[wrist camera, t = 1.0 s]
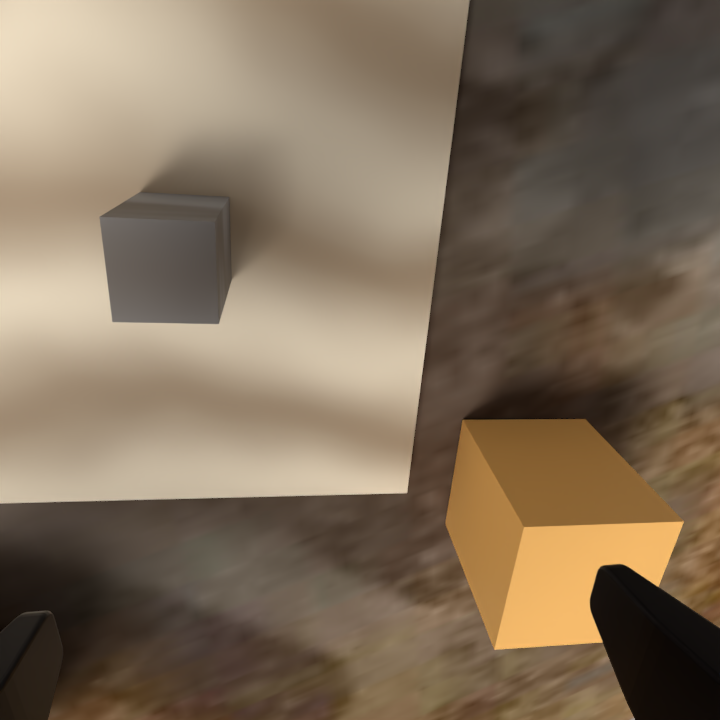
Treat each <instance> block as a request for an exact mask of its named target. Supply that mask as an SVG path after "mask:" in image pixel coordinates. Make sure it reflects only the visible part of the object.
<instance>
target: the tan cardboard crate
mask: <svg viewBox="0 0 720 720" xmlns="http://www.w3.org/2000/svg"><path fill="white" fill-rule="evenodd" d="M683 523H684V521H683V520H682V519H681V518H680V517H679V516H678V515H677V514H676V513H675V512H674V511H673V510H672V509H671V508H670V507H669V505H668V504H667V503H666V502H665V501H664V500H663V499H662V498H661V497H660V496H659V495H658V494H657V493H656V492H655V491H654V490H653V489H652V488H651V487H650V486H649V485H648V484H647V483H646V482H645V481H644V479H643V478H642V477H641V476H640V475H639V474H638V473H637V472H636V471H635V470H634V469H633V468H632V467H631V466H630V465H629V464H628V463H627V462H626V461H625V460H624V459H623V458H622V457H621V456H620V455H619V454H618V452H617V451H616V450H615V449H614V448H613V447H612V446H611V445H610V444H609V443H608V442H607V441H606V440H605V439H604V438H603V437H602V436H601V435H600V434H599V433H598V432H597V431H596V430H595V429H594V428H593V427H592V425H591V424H590V423H589V422H588V421H587V420H586V419H498V420H463V421H462V427H461V432H460V438H459V444H458V450H457V456H456V462H455V468H454V474H453V480H452V486H451V492H450V498H449V504H448V510H447V516H446V522H445V524H446V526H447V529H448V532H449V534H450V537H451V539H452V542H453V544H454V547H455V550H456V552H457V555H458V557H459V560H460V562H461V565H462V568H463V570H464V573H465V575H466V578H467V581H468V583H469V586H470V588H471V591H472V593H473V596H474V599H475V601H476V604H477V606H478V609H479V611H480V614H481V617H482V619H483V622H484V624H485V627H486V629H487V632H488V635H489V637H490V640H491V642H492V645H493V647H494V650H497V649H511V648H526V647H541V646H555V645H570V644H584V643H599V642H602V639H601V636H600V634H599V631H598V629H597V626H596V624H595V621H594V619H593V616H592V613H591V610H590V596H591V592H592V589H593V585H594V581H595V578H596V574H597V571H598V569H599V568H600V567H601V566H603V565H613V564H623V565H626V566H628V567H629V568H631V569H632V570H634V571H635V572H637V573H638V574H640V575H641V576H643V577H644V578H646V579H647V580H649V581H650V582H652V583H653V584H655V585H656V586H659V584H660V581H661V579H662V576H663V574H664V571H665V569H666V566H667V563H668V561H669V558H670V556H671V553H672V551H673V548H674V546H675V543H676V540H677V538H678V535H679V533H680V530H681V528H682V525H683Z"/></svg>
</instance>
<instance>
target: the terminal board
mask: <svg viewBox="0 0 720 720" xmlns="http://www.w3.org/2000/svg"><path fill="white" fill-rule="evenodd" d="M469 1H470V0H0V503H36V502H75V501H114V500H153V499H193V498H232V497H271V496H311V495H350V494H389V493H407V489H408V481H409V473H410V466H411V458H412V450H413V442H414V434H415V426H416V418H417V410H418V403H419V395H420V387H421V379H422V371H423V363H424V355H425V348H426V340H427V332H428V324H429V316H430V308H431V300H432V292H433V285H434V277H435V269H436V261H437V253H438V245H439V237H440V230H441V222H442V214H443V206H444V198H445V190H446V182H447V174H448V167H449V159H450V151H451V143H452V135H453V127H454V119H455V112H456V104H457V96H458V88H459V80H460V72H461V64H462V56H463V49H464V41H465V33H466V25H467V17H468V9H469Z"/></svg>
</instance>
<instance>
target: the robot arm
mask: <svg viewBox="0 0 720 720" xmlns="http://www.w3.org/2000/svg"><path fill="white" fill-rule="evenodd" d="M590 610H591V613H592V616H593V619H594V621H595V624H596V626H597V629H598V631H599V634H600V636H601V639H602V642H603V644H604V647H605V649H606V652H607V654H608V657H609V659H610V662H611V664H612V667H613V669H614V672H615V674H616V677H617V679H618V682H619V685H620V687H621V689H622V692H623V694H624V697H625V699H626V701H627V704H628V706H629V708H630V710H631V712H632V714H633V716H634V718H635V720H720V628H719V627H717V626H716V625H714V624H713V623H711V622H710V621H708V620H707V619H705V618H704V617H702V616H701V615H699V614H698V613H696V612H695V611H693V610H692V609H690V608H689V607H687V606H686V605H684V604H683V603H681V602H680V601H678V600H677V599H676V598H674V597H673V596H671V595H670V594H668V593H667V592H665V591H664V590H662V589H661V588H659V587H658V586H656V585H655V584H653V583H652V582H650V581H649V580H647V579H646V578H644V577H643V576H641V575H640V574H638V573H637V572H635V571H634V570H632V569H631V568H629V567H628V566H626V565H623V564H613V565H603V566H601V567H600V568H599V569H598V571H597V574H596V578H595V581H594V585H593V589H592V592H591V596H590ZM62 659H63V646H62V642H61V638H60V635H59V631H58V628H57V625H56V621H55V618H54V615H53V614H52V613H51V612H50V611H47V610H46V611H34V612H25V613H22V614H21V615H19V616H17V617H16V618H15V619H14V620H13V621H12V622H11V623H10V624H9V625H7V626H6V627H5V628H4V629H3V630H2V631H1V632H0V720H48V717H49V713H50V709H51V705H52V701H53V697H54V693H55V689H56V685H57V681H58V677H59V673H60V669H61V665H62Z"/></svg>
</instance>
